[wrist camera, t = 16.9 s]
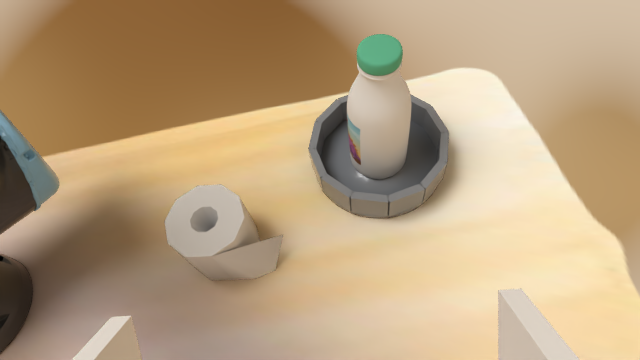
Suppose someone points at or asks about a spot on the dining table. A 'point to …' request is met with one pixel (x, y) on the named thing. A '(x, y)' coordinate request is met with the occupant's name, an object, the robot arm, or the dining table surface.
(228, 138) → the dining table surface
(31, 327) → the dining table surface
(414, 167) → the bowl
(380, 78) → the milk bottle
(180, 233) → the toilet tissue
